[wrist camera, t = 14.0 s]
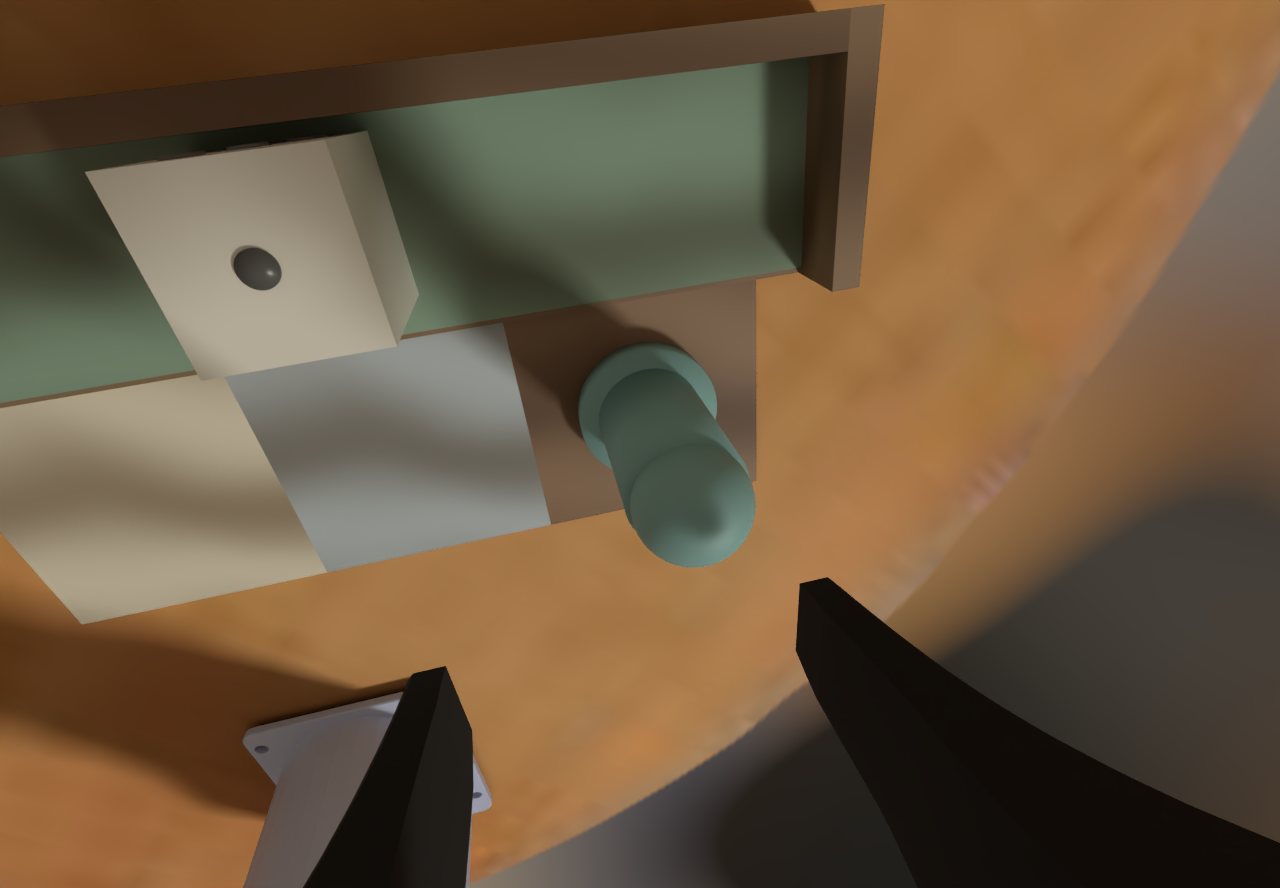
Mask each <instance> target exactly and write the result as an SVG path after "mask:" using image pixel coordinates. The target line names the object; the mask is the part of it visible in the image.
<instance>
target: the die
mask: <svg viewBox="0 0 1280 888" xmlns="http://www.w3.org/2000/svg"><path fill="white" fill-rule="evenodd" d="M285 139H286V141H284V142H276V143H269V141H265V142H257V143H249V144H242V145H235V146H228V147H225V148H226V149H223V150H216V151H208V152H205V151H204V150H202V151H194V152H186V153H179V154H172V155H165V156H158V157H155V158H156V160H152V161H146V162H140V163H134V164H128V165H123V166H117V167H111V168H105V169H99V170H93V171H88V172H85V173H86V175H87V177H88V179H89V180H90V182H91V184H92V186H93V188H94V189H95V191H96V193H97V195H98V197H99V198H100V200H101V202H102V204H103V206H104V207H105V209H106V211H107V213H108V214H109V216H110V218H111V220H112V222H113V223H114V225H115V227H116V229H117V231H118V232H119V234H120V236H121V238H122V240H123V241H124V243H125V245H126V247H127V249H128V250H129V252H130V254H131V256H132V258H133V259H134V261H135V263H136V265H137V267H138V268H139V270H140V272H141V274H142V276H143V277H144V279H145V281H146V283H147V285H148V286H149V288H150V290H151V292H152V294H153V295H154V297H155V299H156V301H157V303H158V304H159V306H160V308H161V310H162V311H163V313H164V315H165V317H166V319H167V320H168V322H169V324H170V326H171V328H172V329H173V331H174V333H175V335H176V337H177V338H178V340H179V342H180V344H181V346H182V347H183V349H184V351H185V353H186V355H187V356H188V358H189V360H190V362H191V364H192V365H193V367H194V369H195V371H196V373H197V374H198V376H199V378H200V380H201V381H204V380H209V379H215V378H221V377H226V376H232V375H238V374H243V373H249V372H255V371H260V370H266V369H272V368H278V367H283V366H289V365H295V364H300V363H306V362H312V361H317V360H323V359H329V358H334V357H340V356H346V355H352V354H357V353H363V352H369V351H374V350H380V349H386V348H391V347H397V346H398V343H399V341H400V339H401V336H402V334H403V331H404V329H405V327H406V324H407V322H408V320H409V317H410V315H411V312H412V310H413V308H414V305H415V303H416V300H417V298H418V296H419V293H418V290H417V287H416V284H415V281H414V277H413V274H412V271H411V268H410V265H409V262H408V258H407V255H406V252H405V249H404V246H403V242H402V239H401V236H400V233H399V230H398V227H397V223H396V220H395V217H394V214H393V211H392V207H391V204H390V201H389V198H388V195H387V192H386V188H385V185H384V182H383V179H382V176H381V172H380V169H379V166H378V163H377V160H376V157H375V153H374V150H373V147H372V144H371V141H370V137H369V134H368V131H367V130H366V131H359V132H351V133H344V134H336V135H329V136H325V133H321V134H313V135H305V136H298V137H291V138H285Z"/></svg>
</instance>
